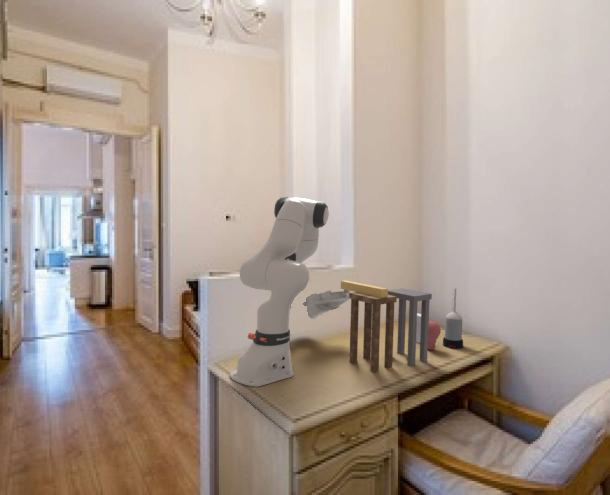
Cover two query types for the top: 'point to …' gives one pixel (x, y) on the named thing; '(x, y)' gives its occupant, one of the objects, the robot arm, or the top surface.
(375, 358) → the walnut stand
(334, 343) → the top surface
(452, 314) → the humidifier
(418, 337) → the skincare box
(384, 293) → the ochre bar
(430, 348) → the light bulb
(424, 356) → the charcoal stand
